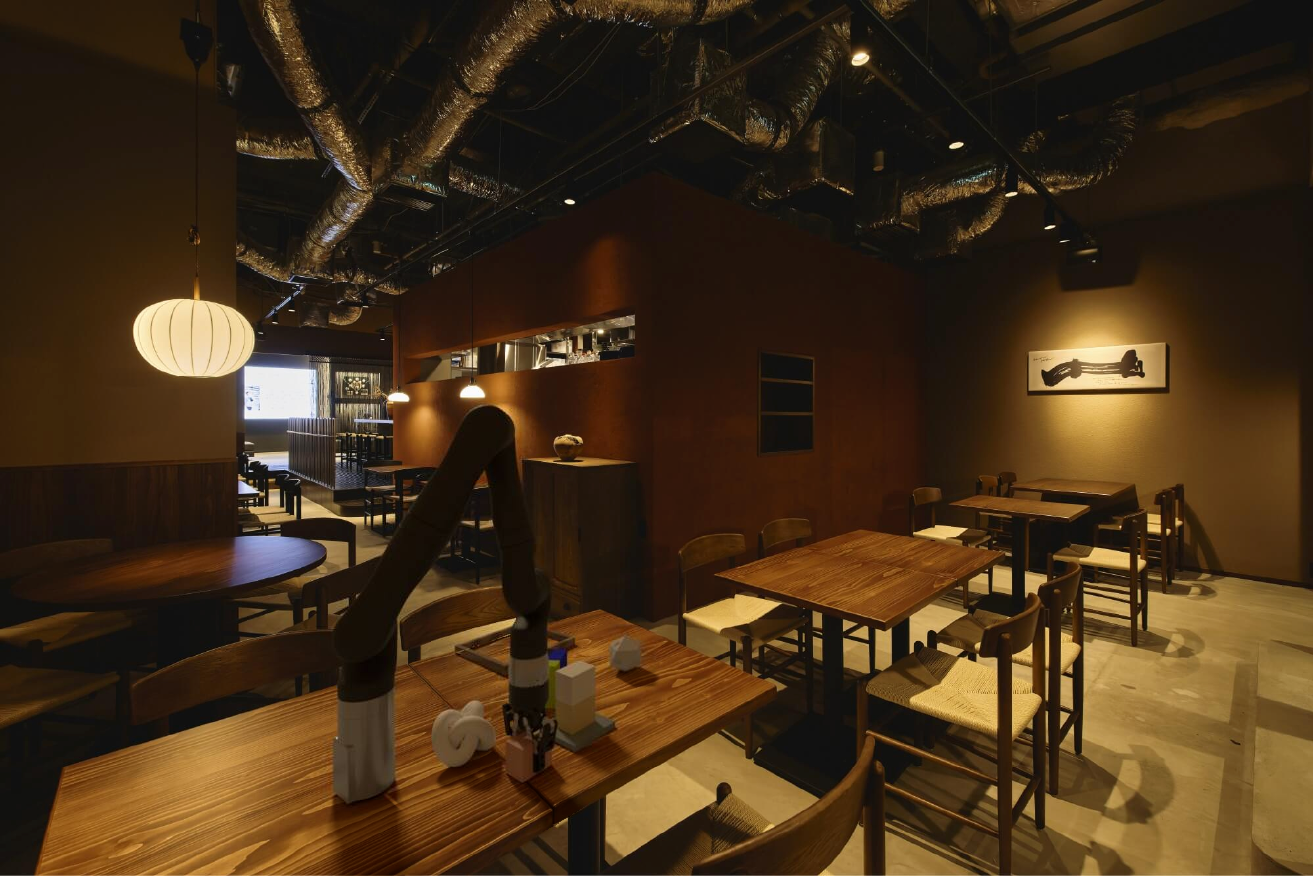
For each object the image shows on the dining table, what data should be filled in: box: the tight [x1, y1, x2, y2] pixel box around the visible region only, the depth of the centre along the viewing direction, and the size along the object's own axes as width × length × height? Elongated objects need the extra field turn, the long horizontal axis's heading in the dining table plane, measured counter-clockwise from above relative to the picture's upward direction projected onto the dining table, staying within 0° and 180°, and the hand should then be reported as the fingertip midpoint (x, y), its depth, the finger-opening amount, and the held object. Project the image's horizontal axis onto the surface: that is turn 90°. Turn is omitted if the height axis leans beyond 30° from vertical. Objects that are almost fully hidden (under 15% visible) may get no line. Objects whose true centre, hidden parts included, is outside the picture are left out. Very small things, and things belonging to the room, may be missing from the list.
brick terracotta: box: [505, 729, 553, 784], centre depth 103 cm, size 7×5×6 cm
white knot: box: [431, 700, 497, 768], centre depth 108 cm, size 11×12×9 cm
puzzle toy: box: [545, 649, 568, 710], centre depth 131 cm, size 10×10×10 cm
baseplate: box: [549, 712, 616, 753], centre depth 117 cm, size 12×12×1 cm
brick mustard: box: [555, 693, 596, 735], centre depth 117 cm, size 7×5×6 cm
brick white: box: [555, 660, 596, 706], centre depth 117 cm, size 7×5×6 cm
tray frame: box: [454, 625, 576, 676], centre depth 159 cm, size 25×23×3 cm
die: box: [609, 634, 643, 673], centre depth 145 cm, size 8×9×10 cm
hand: (529, 764), depth 103 cm, fingers closed on brick terracotta, 5 cm apart
